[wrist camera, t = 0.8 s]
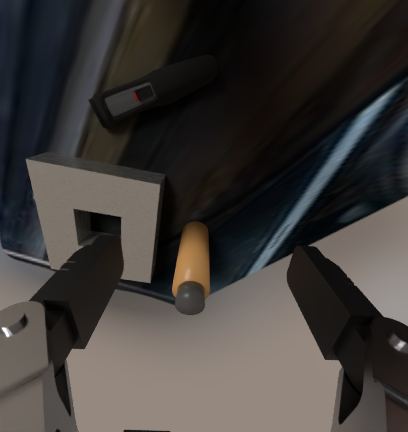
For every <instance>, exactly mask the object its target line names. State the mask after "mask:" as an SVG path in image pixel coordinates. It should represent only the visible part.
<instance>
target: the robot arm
mask: <svg viewBox="0 0 408 432" xmlns="http://www.w3.org/2000/svg"><path fill="white" fill-rule="evenodd" d="M123 270H124V259H123V252H122V245H121V239H120V236H118V235H104V234H101V235H99V236H98V237H97V238H96V239H95V240H94V242H93V243H92V244H91V245H86V246H84V247H82V248H81V249H79V250H77V251H76V252H74V253H73V254H72V256H71V257H70V258H69V259H68V260H67V262H66V263H64V264H63V265H62V266H61V267H60V269H59V270H57V271H56V273H55V274H54V275H53V276H52V277H51V278H50V279H49V280H48V281H47V282H46V283H45V284H44V285H43V286H42V287H41V288H40V290H39V291H38V292H37V293H36V294H35V295H34V296H33V297H32V298H31V299H30V300H29V301H26V302H21V303H17V304H14V305H11V306H9V307H7V308H5V309H3V310H1V311H0V432H78V429H77V425H76V420H75V414H74V407H73V400H72V394H71V387H70V380H69V373H68V366H67V361H66V358H67V356H68V355H69V353H70V351H71V349H85V347H86V345H87V343H88V341H89V339H90V337H91V335H92V333H93V332H94V330H95V327H96V326H97V324H98V321H99V320H100V318H101V316H102V314H103V312H104V310H105V308H106V306H107V304H108V302H109V300H110V298H111V296H112V294H113V292H114V290H115V288H116V287H117V285H118V283H119V281H120V279H121V277H122V274H123ZM287 282H288V285H289V287H290V290H291V291H292V293H293V296H294V298H295V300H296V302H297V303H298V306H299V308H300V310H301V312H302V314H303V316H304V318H305V320H306V322H307V324H308V326H309V328H310V330H311V332H312V334H313V336H314V338H315V340H316V342H317V344H318V346H319V348H320V350H321V352H322V354H323V356H324V359H325V360H339V361H340V363H341V365H342V368H341V369H340V372H339V377H338V386H337V393H336V400H335V408H334V415H333V423H332V428H331V432H408V326H406V325H405V324H403V323H401V322H399V321H396V320H393V319H390V318H386V317H383V316H382V314H381V313H380V312H379V311H378V310H377V309H376V308H375V307H374V306H373V304H372V303H371V302H370V301H369V300H368V299H367V298H366V296H365V295H364V294H363V293H362V292H361V291H360V290H359V289H358V288H357V286H354V283H353V282H352V281H351V279H350V278H347V275H346V274H345V273H344V272H343V271H342V269H341V268H340V267H339V266H338V265H336V264H335V263H333V262H332V261H330V260H329V259H327V258H325V257H324V256H323V254H322V253H321V252H320V251H319V250H318V248H316V247H314V246H312V247H311V246H296V247H295V249H294V252H293V255H292V258H291V261H290V265H289V268H288V271H287ZM124 432H170V431H148V430H146V431H145V430H124Z"/></svg>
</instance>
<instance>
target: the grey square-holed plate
mask: <svg viewBox="0 0 408 432" xmlns="http://www.w3.org/2000/svg"><path fill="white" fill-rule="evenodd" d="M26 162H27V166H28V171H29V175H30V179H31V184H32V188H33V192H34V197H35V201H36V205H37V210H38V214H39V218H40V223H41V227H42V231H43V236H44V240H45V244H46V249H47V253H48V257H49V262H50V266H51V269H57V270H59V269H60V267H61V266H62V265H63V264H64V263H66V262H67V260H68V259H69V258H70V257H71V256H72V254H73V253H74V252H76V251H77V250H79V249H81V248H82V247H84V246H86V245H91V244H92V243H93V242H94V240H95V239H96V238H97V237H98V236H99V235H101V234H104V235H114V234H108V233H102V232H96V231H91V222H90V212H96V213H101V214H107V215H113V216H119V217H122V218H121V236H120V235H118V236H120V239H121V245H122V252H123V259H124V270H123V274H122V277H121V279H126V280H133V281H140V282H147V283H150V282H151V278H152V275H153V272H154V269H155V264H156V255H157V246H158V237H159V228H160V220H161V211H162V202H163V193H164V184H165V176H166V175H164V174H159V173H154V172H149V171H144V170H139V169H134V168H129V167H124V166H118V165H113V164H108V163H103V162H98V161H93V160H88V159H83V158H78V157H73V156H68V155H62V154H57V153H52V152H46V153H43V154H40V155H37V156H34V157H31V158H27V159H26Z"/></svg>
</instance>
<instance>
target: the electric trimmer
mask: <svg viewBox="0 0 408 432" xmlns="http://www.w3.org/2000/svg"><path fill="white" fill-rule="evenodd" d="M217 72H218V62H217V60H216V58H215V57H214V56H211V55H202V56H199V57H195V58H192V59H189V60H185V61H182V62H179V63H175V64H172V65H169V66H165V67H162V68H159V69H157V70H154V71H152V72H151V73H149V74H148V75H146V76H144V77H142V78H140V79H138V80H135V81H133V82H130V83H127V84H124V85H122V86H119V87H116V88H113V89H110V90H108V91H105V92H102V93H96V94H95V95H94V96H93V98H91V99H89V102H90V104H91V106H92V108H93V110H94V112H95V113H96V115H97V117H98V119H99V121H100V123H101V125H102V126H103V128H106V127H110V128H111V127H114V125H115V124H116V123H118V122H120V121H122V120H124V119H126V118H129V117H131V116H133V115H135V114H137V113H140V112H142V111H144V110H147V109H150V108H153V107H156V106H165V105H168V104H170V103H173V102H175V101H176V100H178V99H180V98H182V97H184V96H186V95H188V94H190V93H192V92H193V91H195V90H197V89H199V88H201V87H203V86H205V85H206V84H208V83H210V82H211V81H213V80H214V79H215V77H216V74H217Z"/></svg>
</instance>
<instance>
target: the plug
mask: <svg viewBox="0 0 408 432" xmlns="http://www.w3.org/2000/svg"><path fill="white" fill-rule="evenodd" d="M172 292H173V294H174V296H175V297H176V302H175V307H176V309H177V310H178V311H179V312H181V313H182V314H186V315H195V314H198V313H200V312H202V311H203V309H204V306H205V299H206V298H207V297H208V295H209V293H210V273H209V234H208V228H207V227H206V226H205V225H204V224H203V223H201V222H197V221H193V222H189V223H187V224H186V225H185V226H184V227H183V230H182V236H181V241H180V247H179V253H178V259H177V264H176V270H175V276H174V281H173V287H172Z"/></svg>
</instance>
